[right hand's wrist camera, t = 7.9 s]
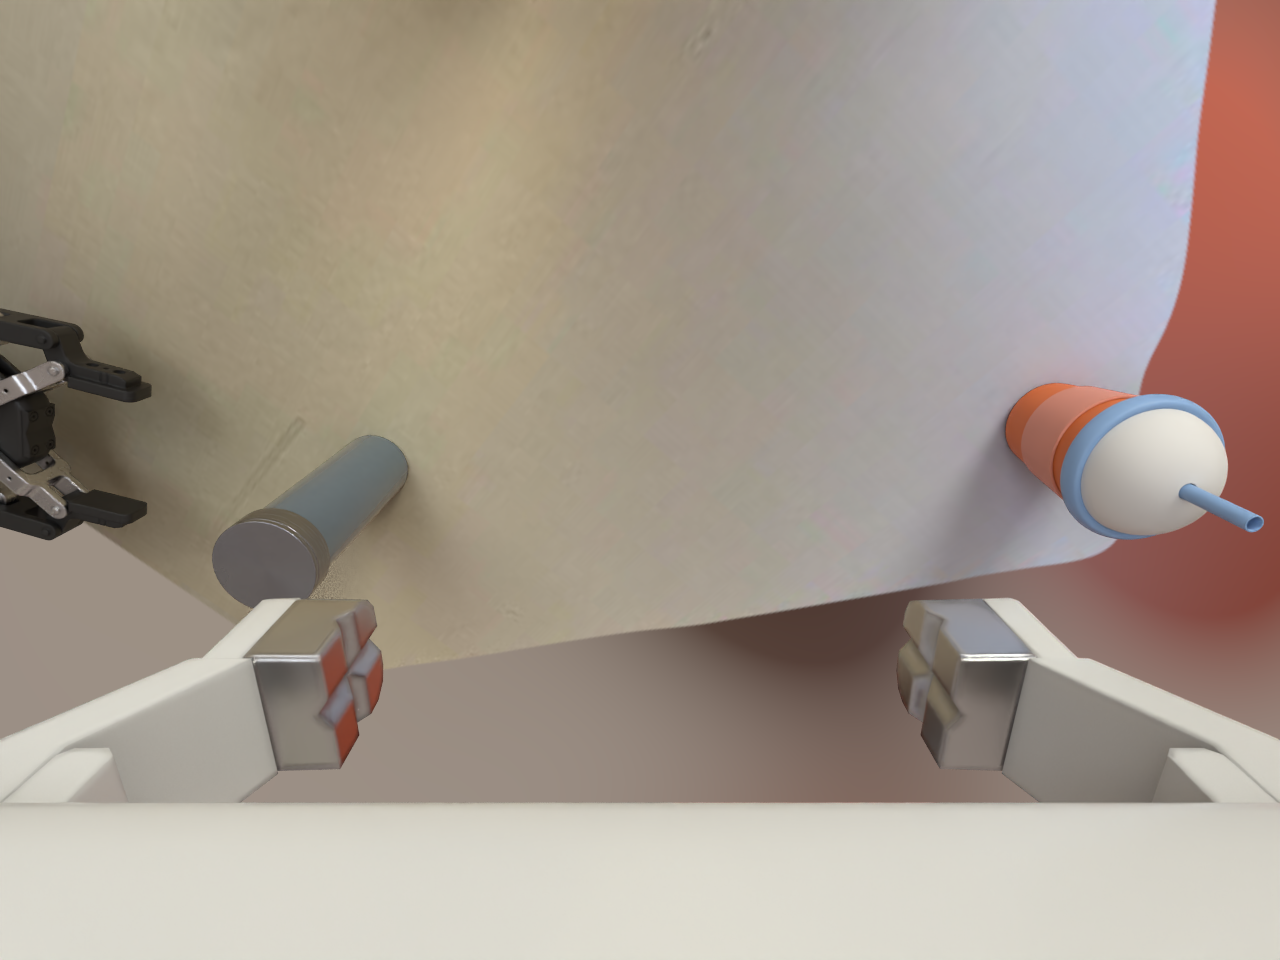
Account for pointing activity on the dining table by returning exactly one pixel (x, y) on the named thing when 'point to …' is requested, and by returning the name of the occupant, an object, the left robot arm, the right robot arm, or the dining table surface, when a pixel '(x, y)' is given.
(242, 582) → the lid
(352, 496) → the bottle
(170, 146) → the dining table surface
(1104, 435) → the cup with straw
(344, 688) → the right robot arm
